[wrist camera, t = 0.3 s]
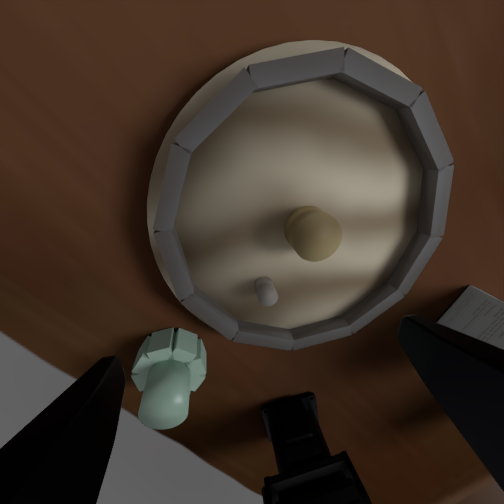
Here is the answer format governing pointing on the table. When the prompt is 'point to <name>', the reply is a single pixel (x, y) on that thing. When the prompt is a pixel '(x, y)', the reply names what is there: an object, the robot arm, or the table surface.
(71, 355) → the table surface
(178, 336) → the pale green domed piece
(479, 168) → the table surface
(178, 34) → the table surface
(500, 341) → the supplement box
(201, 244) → the carrier plate
